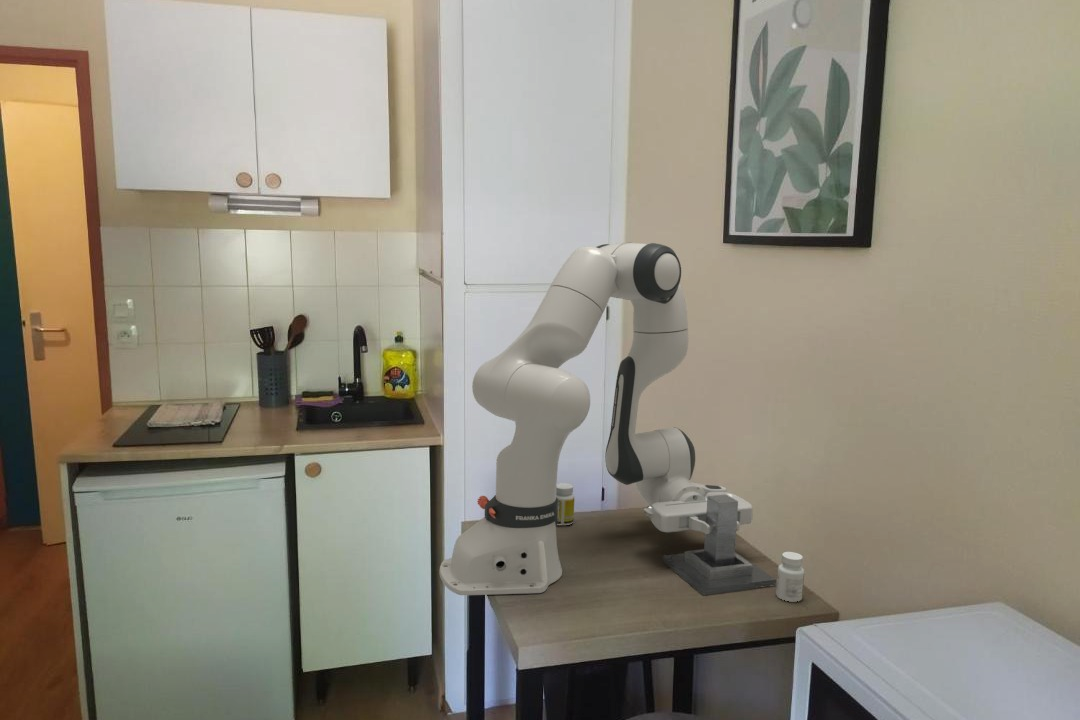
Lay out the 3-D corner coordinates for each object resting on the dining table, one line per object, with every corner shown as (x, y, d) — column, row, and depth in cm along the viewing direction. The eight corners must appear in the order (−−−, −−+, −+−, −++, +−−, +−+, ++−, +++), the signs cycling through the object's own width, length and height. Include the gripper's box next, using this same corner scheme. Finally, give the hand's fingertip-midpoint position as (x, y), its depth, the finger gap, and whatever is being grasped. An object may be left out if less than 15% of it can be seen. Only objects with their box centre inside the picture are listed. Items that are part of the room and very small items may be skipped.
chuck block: (703, 595, 133) (704, 579, 133) (662, 561, 147) (663, 546, 147) (775, 585, 138) (776, 570, 138) (729, 553, 152) (730, 539, 152)
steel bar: (715, 565, 140) (719, 503, 138) (703, 557, 144) (707, 496, 142) (733, 563, 141) (738, 501, 139) (722, 554, 145) (726, 494, 143)
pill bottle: (807, 599, 133) (811, 557, 132) (790, 605, 131) (794, 562, 130) (787, 589, 137) (790, 548, 136) (770, 594, 134) (773, 553, 133)
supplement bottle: (574, 519, 168) (575, 483, 167) (573, 527, 164) (574, 489, 163) (552, 518, 169) (553, 481, 168) (550, 525, 164) (552, 488, 163)
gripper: (640, 493, 150) (674, 517, 137) (729, 485, 156) (770, 507, 143) (638, 523, 150) (672, 550, 138) (727, 514, 157) (768, 539, 144)
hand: (723, 528), depth 140 cm, fingers closed on steel bar, 4 cm apart
